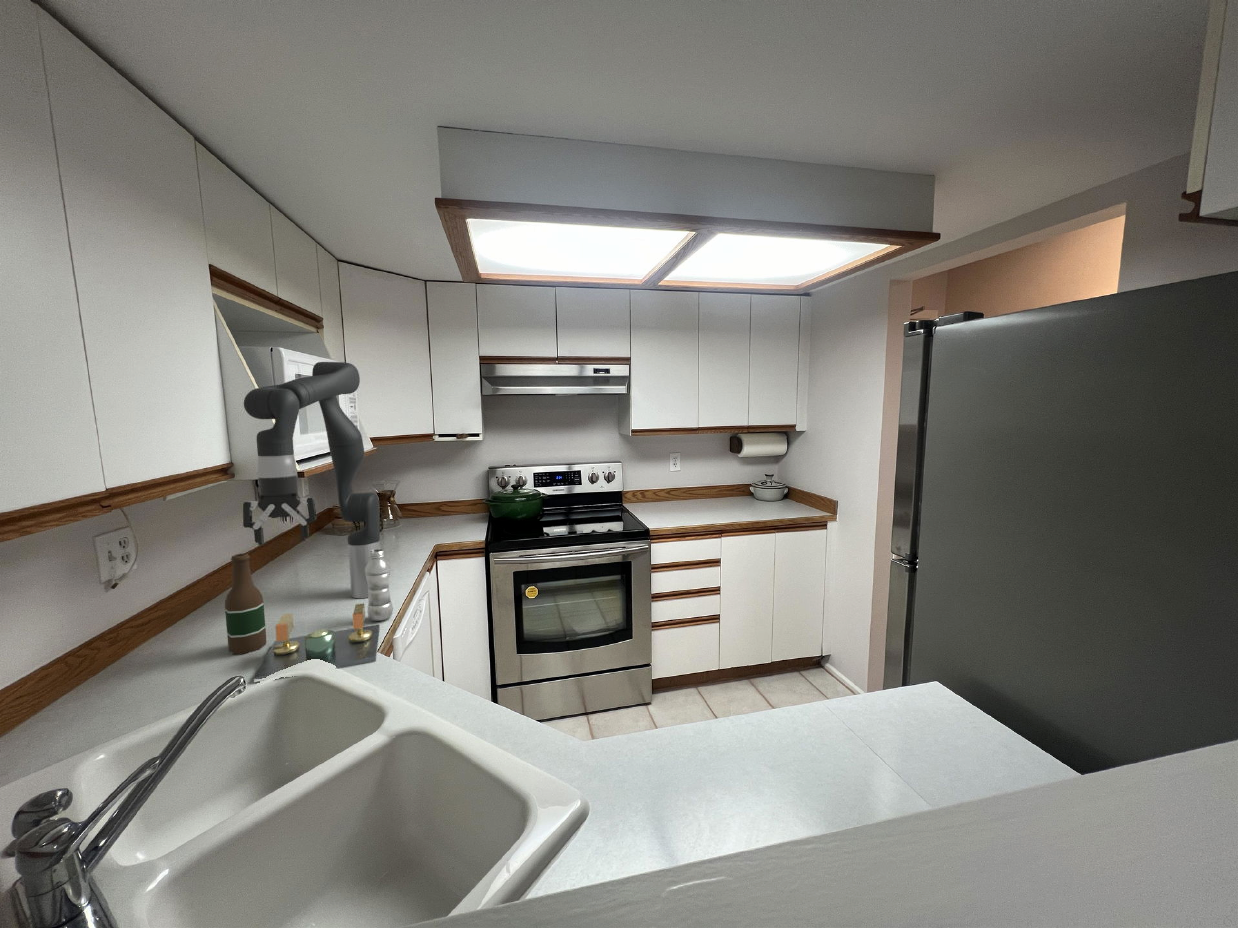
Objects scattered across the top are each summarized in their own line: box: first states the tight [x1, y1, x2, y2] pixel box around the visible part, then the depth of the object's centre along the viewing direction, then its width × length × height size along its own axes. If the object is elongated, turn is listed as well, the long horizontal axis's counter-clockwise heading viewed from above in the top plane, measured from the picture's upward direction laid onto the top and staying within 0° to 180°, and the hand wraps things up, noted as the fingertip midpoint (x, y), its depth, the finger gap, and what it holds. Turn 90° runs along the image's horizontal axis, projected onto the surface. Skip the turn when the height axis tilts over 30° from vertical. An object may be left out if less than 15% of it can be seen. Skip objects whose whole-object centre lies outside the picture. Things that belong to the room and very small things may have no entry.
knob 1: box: [273, 612, 299, 655], centre depth 121 cm, size 8×5×8 cm
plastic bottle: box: [365, 548, 394, 622], centre depth 143 cm, size 6×7×20 cm
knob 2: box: [349, 602, 372, 642], centre depth 128 cm, size 8×5×8 cm
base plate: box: [253, 624, 381, 680], centre depth 123 cm, size 20×24×7 cm
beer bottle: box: [224, 553, 267, 655], centre depth 125 cm, size 8×8×24 cm
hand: (282, 542), depth 119 cm, fingers open, 8 cm apart
